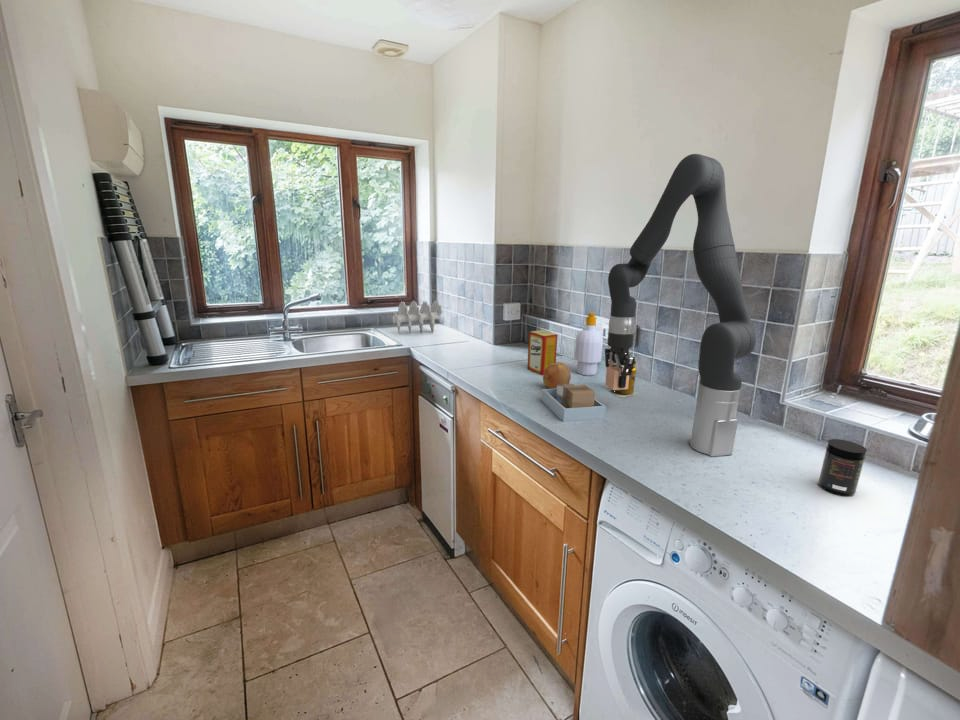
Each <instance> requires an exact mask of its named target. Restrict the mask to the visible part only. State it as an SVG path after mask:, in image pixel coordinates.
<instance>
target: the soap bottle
mask: <svg viewBox="0 0 960 720" xmlns="http://www.w3.org/2000/svg"><path fill="white" fill-rule="evenodd" d="M587 314H588V316H586V318H585V319H586V320H585V321H586V322H585V329H581V330H580V331H578V333H577V336H576V339H575V349H574V350H575V351H574V359H575V361H577V367H576V371H577V373H578V374H579V375H582V376H594V375H596V374H597V372H598V363H601V361H602V358H603V357H602V356H603V345H604V339H603V335H602V333H601V332H600V331H598V330H596V323H597V317H596V313H595V312H588V313H587Z"/></svg>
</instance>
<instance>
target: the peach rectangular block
mask: <svg viewBox="0 0 960 720" xmlns="http://www.w3.org/2000/svg"><path fill="white" fill-rule="evenodd" d="M622 371H623V368H622ZM605 373H606V374H605V386H606V387H607V388H609V389H610V390H623V389H628V385H629V375H628V376H627V377H626V385H625V388H619V387H618V379H619V371H618V369H617V367H606V371H605Z"/></svg>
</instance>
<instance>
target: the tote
mask: <svg viewBox="0 0 960 720" xmlns="http://www.w3.org/2000/svg"><path fill="white" fill-rule="evenodd" d="M556 393H557V388H555V389H549V388H542V390H541V402H542V403H543V404H544V405H545V406H546V407H547V408H548V409H550V411H551V412H553V413H554V414H555V415H556V416H557V417H558V419H560V421H562V422H563V423H566V422H567V423H569V422H583V421H594V420H596V421H597V420H605V418H606V417H605V415H606V408H607V407H606V406H605V404H603V403H601V402H600V401H599V400H597V399H596V398H595V399H594V406H593V407H579V408H564V407H563V406H562V405H561V404H560V403H559V402H558V401H557V400H556Z"/></svg>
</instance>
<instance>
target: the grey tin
mask: <svg viewBox="0 0 960 720" xmlns="http://www.w3.org/2000/svg"><path fill="white" fill-rule="evenodd" d="M571 385H574V384H572V383H569V384H567V383H563V384H558V385H557V393H556V400H557V401H558V402H559V403H560V404H561V405H562V398H563V386H571Z"/></svg>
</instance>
